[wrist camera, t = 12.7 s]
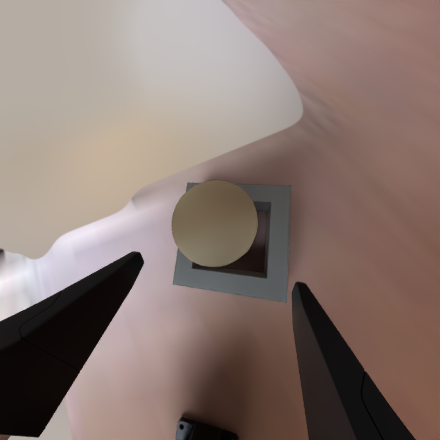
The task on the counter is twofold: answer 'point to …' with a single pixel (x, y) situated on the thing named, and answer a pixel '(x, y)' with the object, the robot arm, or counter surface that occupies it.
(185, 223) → the birch peg
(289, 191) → the frame
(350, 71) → the counter surface
